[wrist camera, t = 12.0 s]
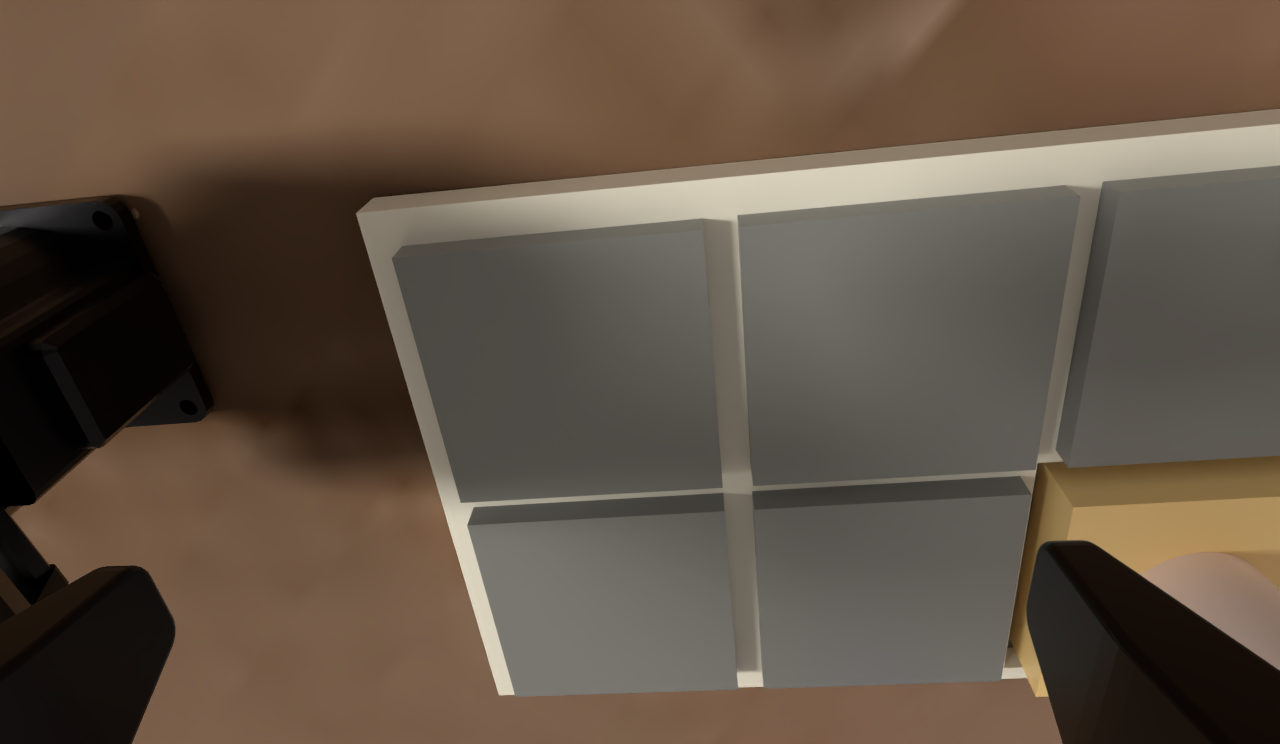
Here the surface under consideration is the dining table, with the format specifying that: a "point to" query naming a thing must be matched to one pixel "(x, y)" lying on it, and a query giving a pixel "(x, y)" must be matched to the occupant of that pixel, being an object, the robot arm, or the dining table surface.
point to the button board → (819, 389)
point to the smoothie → (1226, 597)
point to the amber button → (1152, 520)
